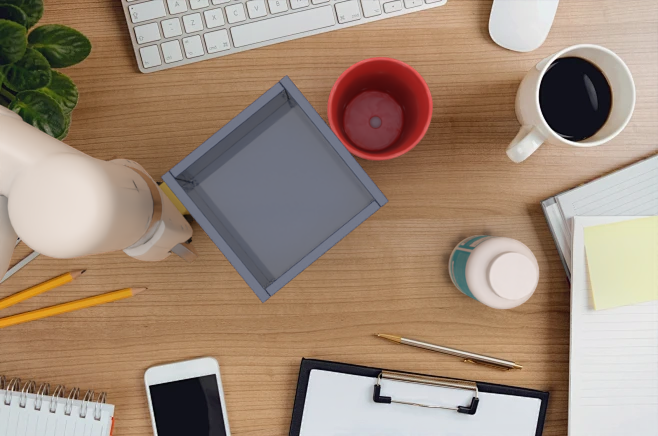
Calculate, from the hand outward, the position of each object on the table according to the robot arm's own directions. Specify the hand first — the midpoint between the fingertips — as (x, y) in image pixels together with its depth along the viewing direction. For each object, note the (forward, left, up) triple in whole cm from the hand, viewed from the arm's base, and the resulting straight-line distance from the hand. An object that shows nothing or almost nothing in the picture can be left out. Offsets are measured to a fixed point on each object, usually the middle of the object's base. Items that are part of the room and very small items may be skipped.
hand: (170, 209), depth 72 cm
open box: (+8, +12, +19) cm, 24 cm away
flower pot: (+7, +25, -1) cm, 26 cm away
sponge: (0, 0, -1) cm, 1 cm away
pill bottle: (+28, +24, -1) cm, 37 cm away
